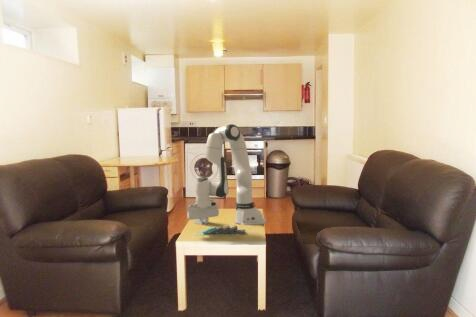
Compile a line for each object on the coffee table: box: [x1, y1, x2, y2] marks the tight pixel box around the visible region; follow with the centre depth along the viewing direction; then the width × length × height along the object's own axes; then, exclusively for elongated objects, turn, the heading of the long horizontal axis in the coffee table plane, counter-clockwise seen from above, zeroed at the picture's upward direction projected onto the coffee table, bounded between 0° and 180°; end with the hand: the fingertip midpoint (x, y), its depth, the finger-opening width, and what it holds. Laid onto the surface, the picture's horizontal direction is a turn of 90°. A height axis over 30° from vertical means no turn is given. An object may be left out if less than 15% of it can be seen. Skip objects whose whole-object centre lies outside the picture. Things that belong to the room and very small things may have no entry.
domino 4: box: [225, 225, 239, 234], centre depth 219 cm, size 2×4×8 cm
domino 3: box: [218, 225, 231, 234], centre depth 219 cm, size 2×4×8 cm
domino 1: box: [202, 226, 217, 234], centre depth 219 cm, size 2×4×8 cm
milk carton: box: [193, 200, 209, 226], centre depth 242 cm, size 7×7×19 cm
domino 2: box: [210, 225, 224, 234], centre depth 219 cm, size 2×4×8 cm
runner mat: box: [195, 231, 238, 236], centre depth 219 cm, size 26×7×1 cm, turn 89°
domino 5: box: [232, 229, 246, 235], centre depth 219 cm, size 2×4×8 cm
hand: (203, 224), depth 219 cm, fingers closed
